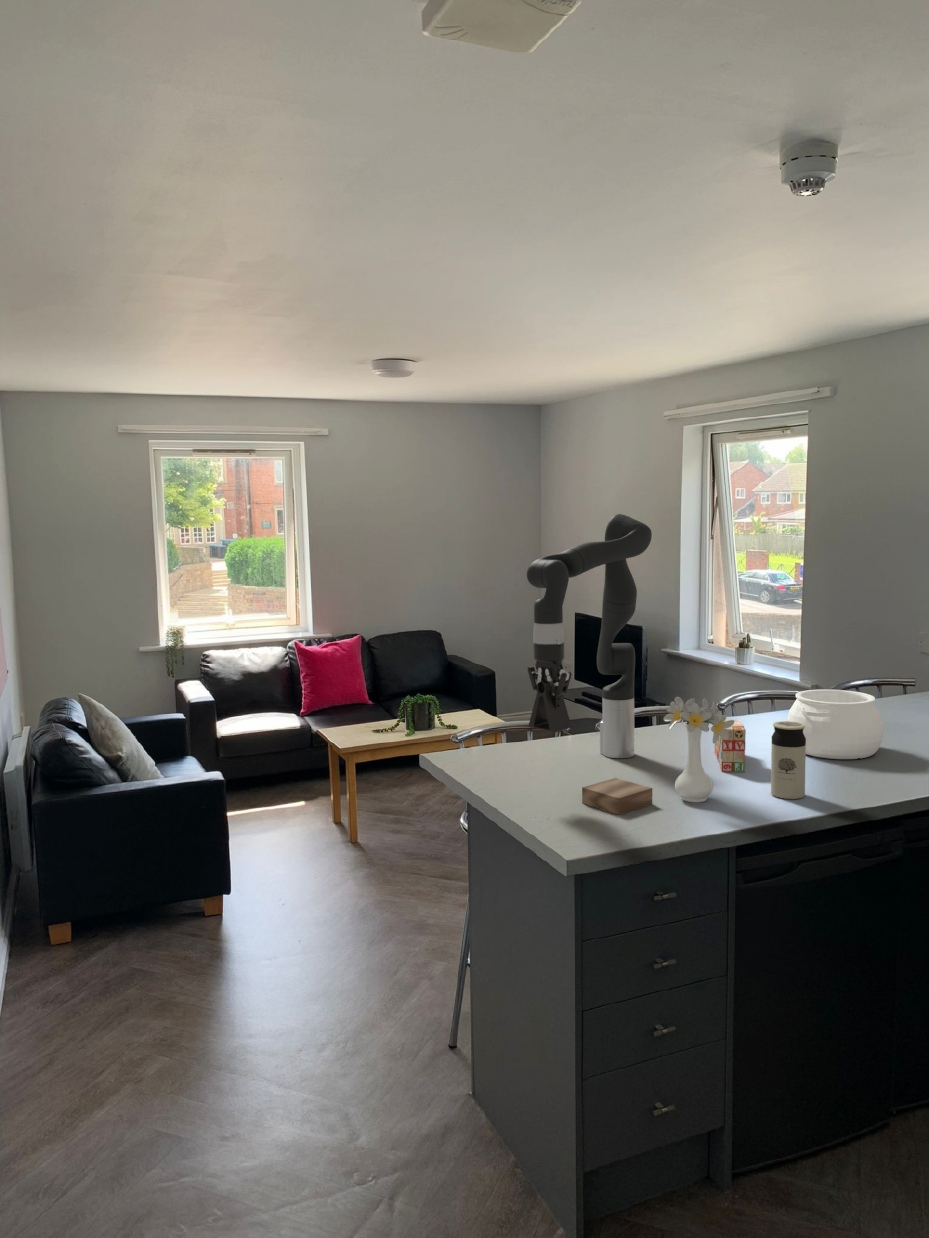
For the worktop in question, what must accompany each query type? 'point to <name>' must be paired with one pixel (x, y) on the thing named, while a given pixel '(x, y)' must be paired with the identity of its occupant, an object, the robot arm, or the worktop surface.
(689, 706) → the flower vase
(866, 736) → the pot
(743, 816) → the worktop surface
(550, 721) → the door stopper
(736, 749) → the stack of blocks
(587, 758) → the worktop surface
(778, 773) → the travel mug
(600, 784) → the walnut base
